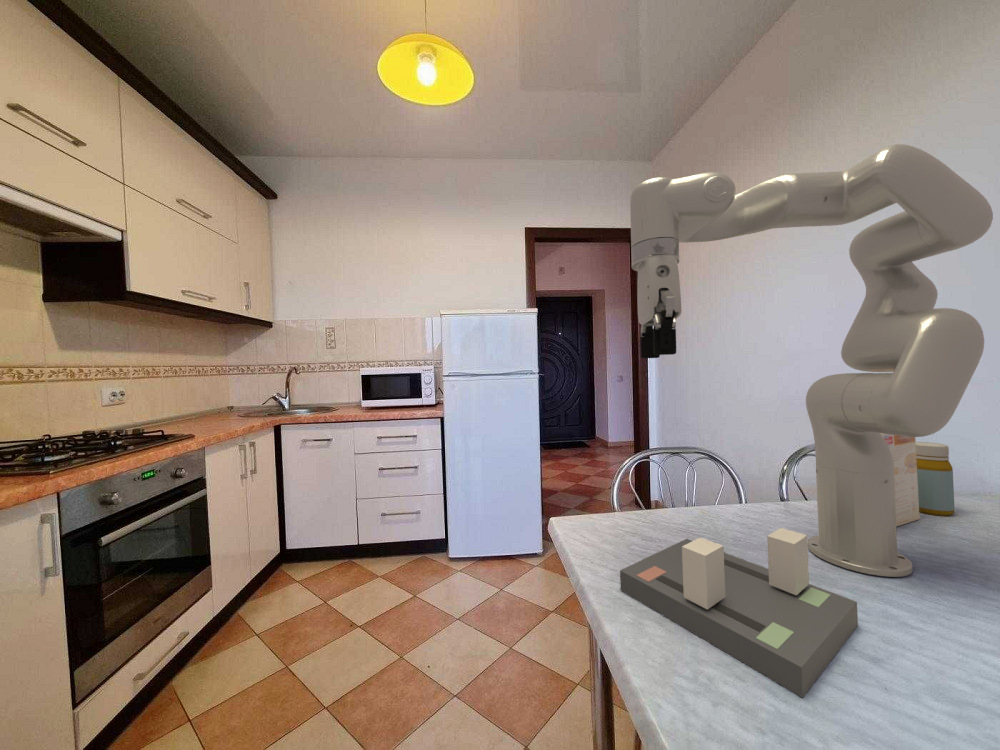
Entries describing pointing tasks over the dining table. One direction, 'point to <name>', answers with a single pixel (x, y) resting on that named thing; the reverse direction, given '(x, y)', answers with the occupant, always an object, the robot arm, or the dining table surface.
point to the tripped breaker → (703, 572)
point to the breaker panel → (750, 616)
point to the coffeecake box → (904, 477)
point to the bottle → (934, 479)
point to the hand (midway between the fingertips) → (657, 356)
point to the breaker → (788, 560)
